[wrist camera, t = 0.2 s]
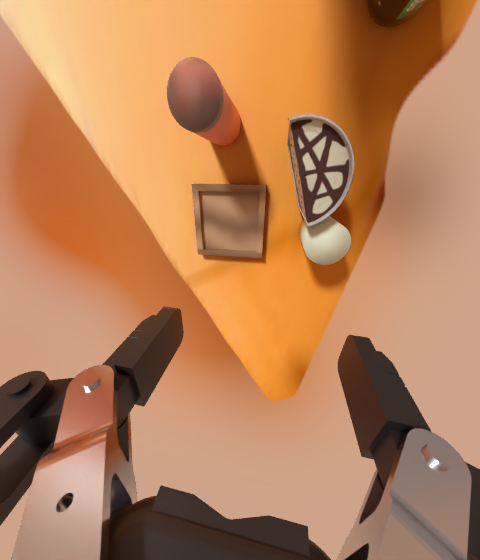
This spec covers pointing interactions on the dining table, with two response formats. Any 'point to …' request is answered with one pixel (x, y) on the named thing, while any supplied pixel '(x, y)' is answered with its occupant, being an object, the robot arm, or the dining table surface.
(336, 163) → the food container
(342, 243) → the sage tin
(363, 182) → the dining table surface
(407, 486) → the robot arm
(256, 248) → the tray
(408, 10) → the supplement bottle
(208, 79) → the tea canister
